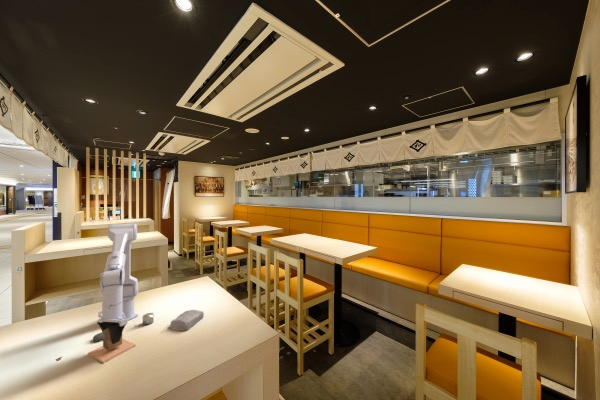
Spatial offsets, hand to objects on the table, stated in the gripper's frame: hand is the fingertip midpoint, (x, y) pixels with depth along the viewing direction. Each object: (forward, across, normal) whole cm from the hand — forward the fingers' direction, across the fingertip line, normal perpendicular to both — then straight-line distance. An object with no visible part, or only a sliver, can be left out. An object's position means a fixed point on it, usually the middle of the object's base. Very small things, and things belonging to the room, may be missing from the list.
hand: (112, 340), depth 83 cm
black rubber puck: (+4, -12, +2) cm, 13 cm away
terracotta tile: (+3, 0, 0) cm, 3 cm away
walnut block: (+2, 0, 0) cm, 2 cm away
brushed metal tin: (+3, -7, +17) cm, 19 cm away
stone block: (+4, +8, +25) cm, 26 cm away
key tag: (+4, -13, -10) cm, 17 cm away
